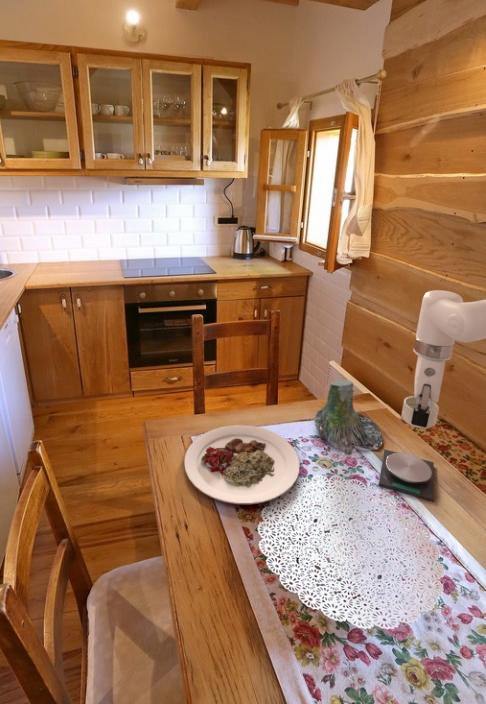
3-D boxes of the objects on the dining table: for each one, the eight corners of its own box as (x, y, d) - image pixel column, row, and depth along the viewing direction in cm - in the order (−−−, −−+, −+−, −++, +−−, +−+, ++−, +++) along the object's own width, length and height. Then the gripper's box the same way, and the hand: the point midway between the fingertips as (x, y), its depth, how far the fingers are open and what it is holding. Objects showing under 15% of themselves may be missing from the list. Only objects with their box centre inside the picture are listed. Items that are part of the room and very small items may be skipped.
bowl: (434, 416, 97) (438, 400, 95) (435, 433, 91) (439, 416, 89) (401, 408, 100) (404, 393, 98) (400, 424, 94) (403, 408, 92)
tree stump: (346, 465, 108) (339, 401, 105) (302, 438, 126) (295, 383, 123) (397, 443, 114) (392, 383, 112) (349, 421, 133) (343, 368, 130)
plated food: (320, 493, 98) (322, 482, 96) (199, 522, 90) (199, 510, 89) (271, 423, 125) (272, 413, 123) (175, 440, 117) (174, 430, 116)
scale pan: (430, 464, 104) (431, 459, 103) (430, 492, 95) (431, 487, 94) (387, 453, 108) (387, 448, 107) (383, 478, 99) (384, 473, 99)
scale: (432, 468, 106) (433, 461, 105) (432, 506, 94) (434, 498, 93) (383, 455, 111) (384, 448, 110) (377, 489, 99) (379, 482, 98)
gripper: (454, 367, 80) (437, 441, 86) (450, 336, 94) (436, 401, 101) (413, 360, 83) (399, 432, 89) (415, 330, 97) (403, 394, 104)
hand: (419, 415), depth 95 cm, fingers closed on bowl, 7 cm apart
